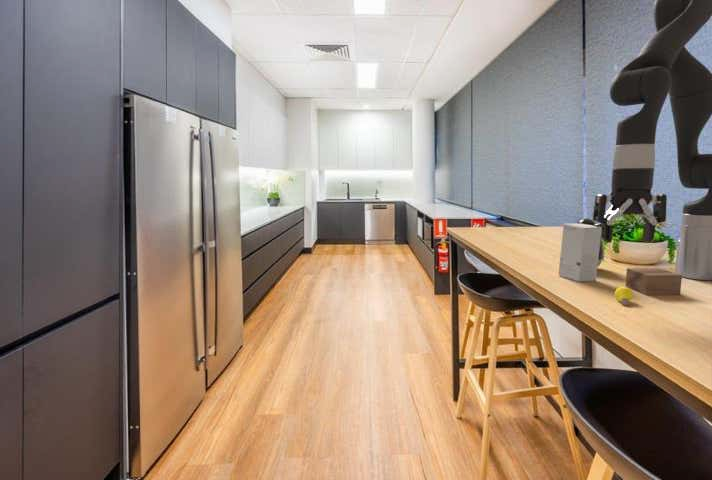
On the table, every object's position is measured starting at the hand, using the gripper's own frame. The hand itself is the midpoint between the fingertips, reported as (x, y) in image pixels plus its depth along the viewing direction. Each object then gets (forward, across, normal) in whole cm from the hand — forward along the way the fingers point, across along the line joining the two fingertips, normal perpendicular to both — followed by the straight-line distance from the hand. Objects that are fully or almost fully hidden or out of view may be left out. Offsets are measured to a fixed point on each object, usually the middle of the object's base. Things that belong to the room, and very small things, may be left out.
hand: (626, 242), depth 95 cm
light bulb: (+14, 0, 0) cm, 14 cm away
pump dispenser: (+14, -9, -36) cm, 40 cm away
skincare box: (+14, -1, -23) cm, 27 cm away
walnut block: (+14, -13, -10) cm, 21 cm away
